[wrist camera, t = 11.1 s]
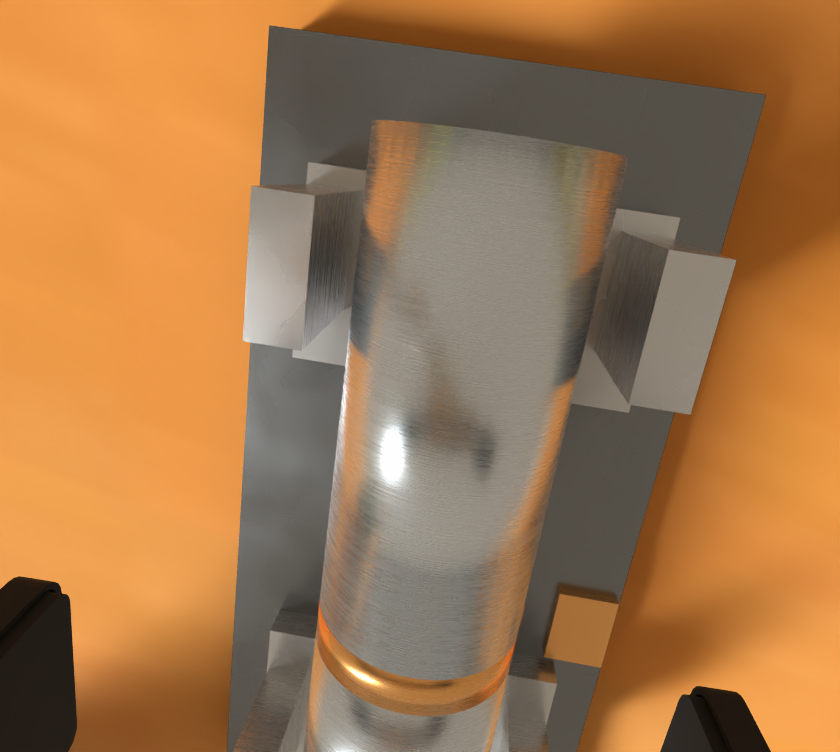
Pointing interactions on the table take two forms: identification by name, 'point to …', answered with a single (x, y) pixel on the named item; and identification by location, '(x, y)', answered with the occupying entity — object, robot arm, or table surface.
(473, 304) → the banded metal cylinder
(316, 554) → the cylinder mounting fixture
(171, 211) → the table surface
